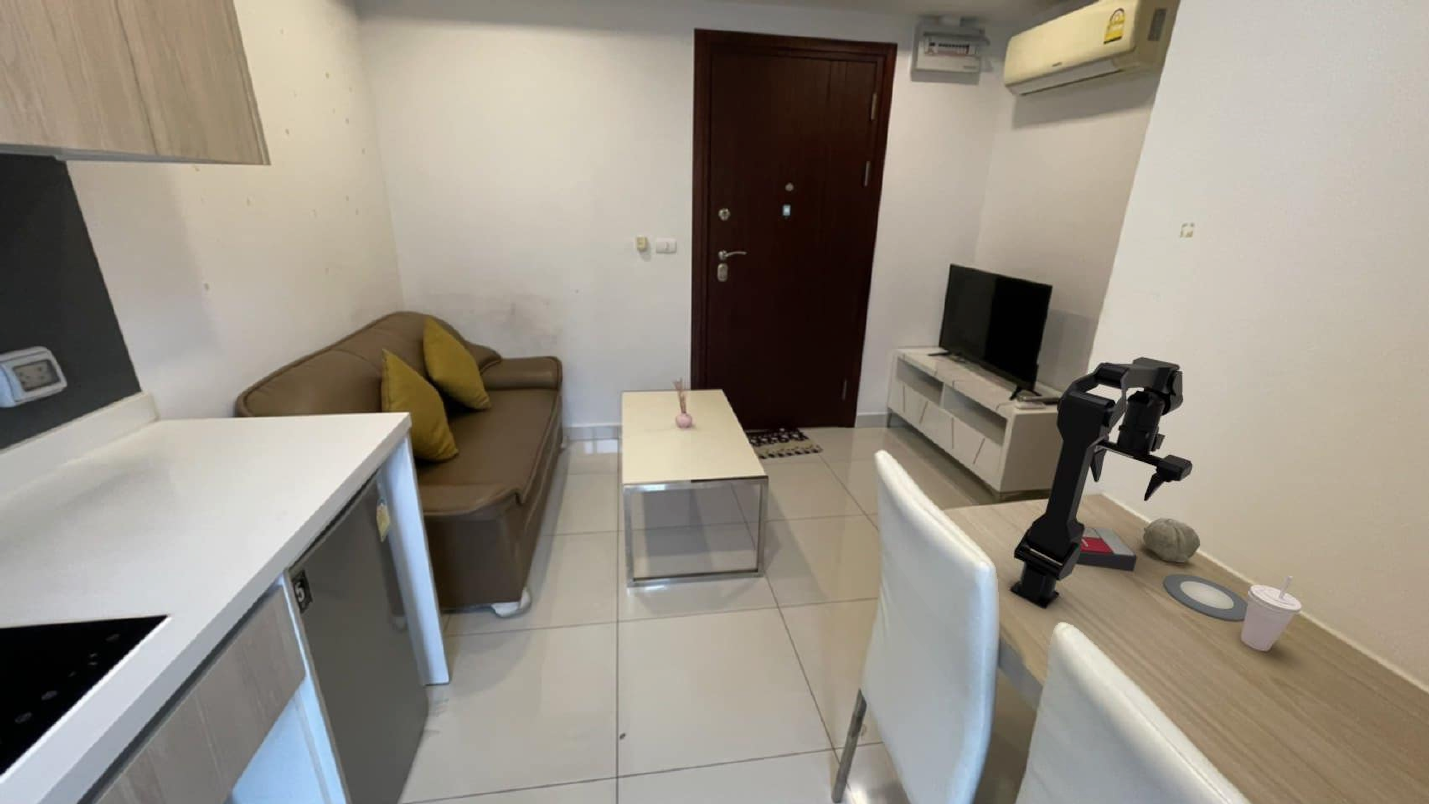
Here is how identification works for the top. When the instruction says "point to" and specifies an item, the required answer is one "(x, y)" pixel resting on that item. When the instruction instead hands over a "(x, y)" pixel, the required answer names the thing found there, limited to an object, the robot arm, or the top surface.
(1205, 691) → the top surface
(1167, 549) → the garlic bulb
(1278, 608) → the smoothie
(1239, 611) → the coaster
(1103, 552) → the calculator
